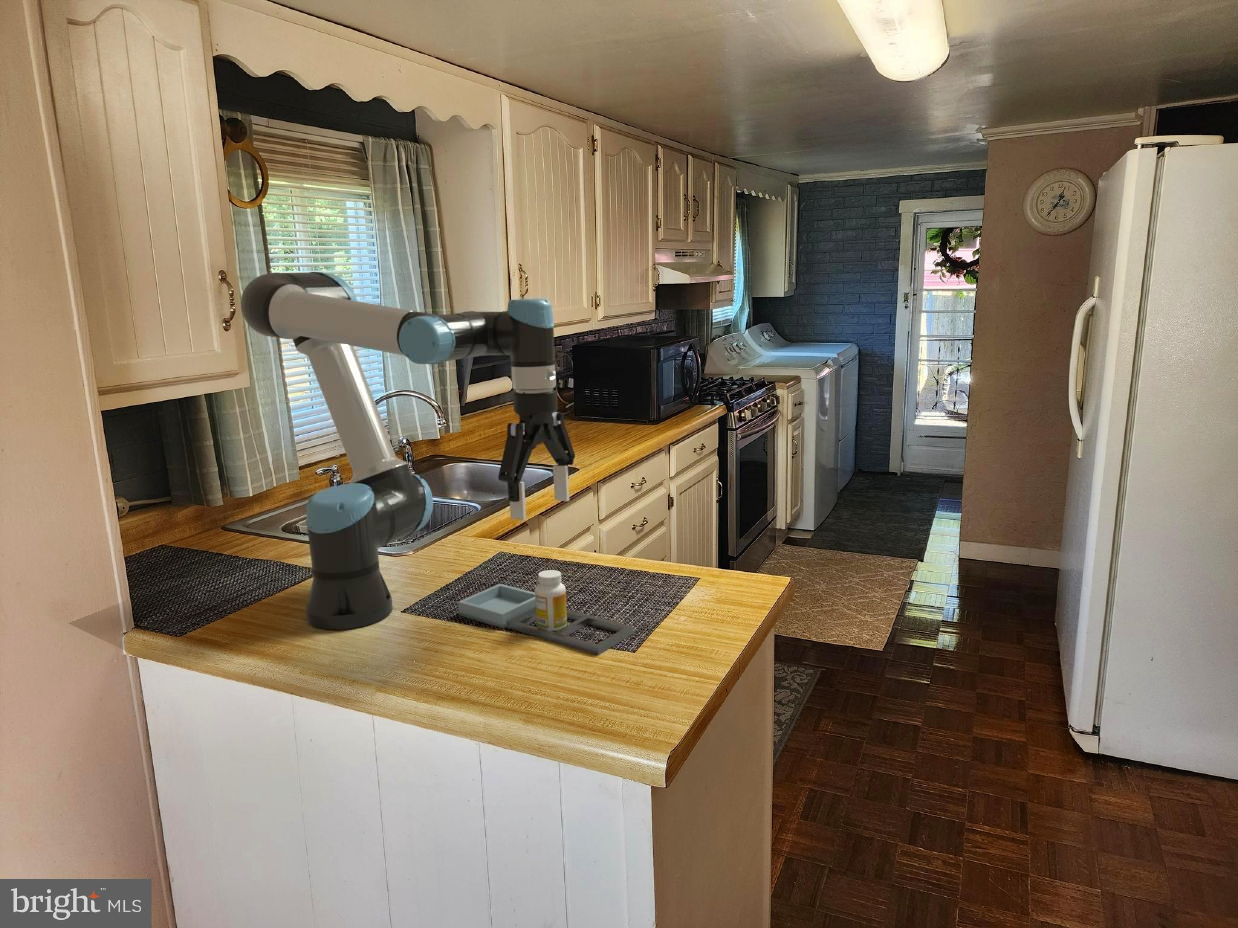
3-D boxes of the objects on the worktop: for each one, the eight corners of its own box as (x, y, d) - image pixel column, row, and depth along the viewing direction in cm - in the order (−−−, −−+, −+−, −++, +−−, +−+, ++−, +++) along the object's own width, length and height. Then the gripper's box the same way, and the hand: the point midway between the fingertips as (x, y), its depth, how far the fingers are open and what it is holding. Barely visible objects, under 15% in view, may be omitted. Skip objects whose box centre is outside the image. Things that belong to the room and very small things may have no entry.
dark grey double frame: (598, 654, 137) (598, 647, 137) (507, 627, 148) (506, 621, 148) (633, 633, 145) (633, 626, 145) (544, 609, 156) (544, 603, 156)
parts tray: (503, 628, 148) (502, 614, 148) (458, 615, 155) (458, 601, 154) (543, 607, 157) (543, 594, 156) (500, 596, 163) (499, 583, 163)
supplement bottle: (567, 619, 152) (565, 567, 150) (566, 631, 146) (564, 578, 144) (537, 620, 152) (535, 568, 149) (535, 632, 146) (533, 579, 144)
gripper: (509, 400, 133) (516, 530, 137) (590, 382, 154) (595, 494, 159) (471, 398, 137) (480, 525, 141) (556, 381, 158) (561, 491, 162)
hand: (541, 509), depth 150 cm, fingers open, 13 cm apart
